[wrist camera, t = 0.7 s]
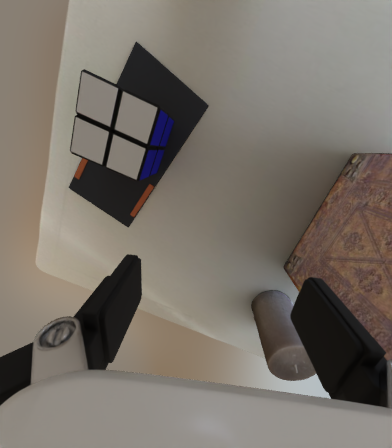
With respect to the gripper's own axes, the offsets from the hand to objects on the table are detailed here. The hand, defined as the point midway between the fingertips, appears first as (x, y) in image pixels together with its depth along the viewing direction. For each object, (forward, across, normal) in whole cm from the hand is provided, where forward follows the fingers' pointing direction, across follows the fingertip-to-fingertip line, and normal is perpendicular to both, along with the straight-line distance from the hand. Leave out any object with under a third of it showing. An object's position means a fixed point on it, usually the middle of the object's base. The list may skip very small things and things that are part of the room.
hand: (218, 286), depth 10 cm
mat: (+27, +16, -5) cm, 32 cm away
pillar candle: (+27, -19, +27) cm, 42 cm away
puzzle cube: (+27, +14, -8) cm, 31 cm away
